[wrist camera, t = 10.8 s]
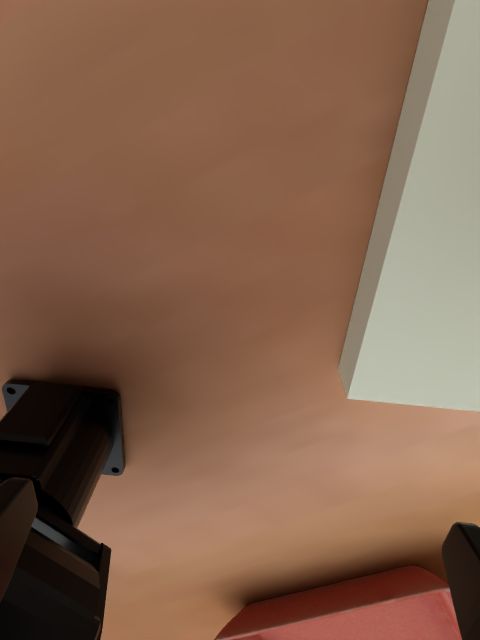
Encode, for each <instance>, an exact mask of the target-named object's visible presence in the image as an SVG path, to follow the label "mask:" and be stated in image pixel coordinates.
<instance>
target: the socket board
mask: <svg viewBox="0 0 480 640" xmlns="http://www.w3.org/2000/svg"><path fill="white" fill-rule="evenodd" d="M338 370H339V373H340V376H341V380H342V383H343V386H344V390H345V393H346V396H347V399H357V400H367V401H377V402H387V403H397V404H407V405H417V406H427V407H437V408H447V409H457V410H467V411H477V412H480V0H429V1H428V5H427V9H426V13H425V17H424V21H423V25H422V29H421V33H420V38H419V42H418V46H417V50H416V54H415V58H414V62H413V66H412V70H411V74H410V78H409V82H408V86H407V90H406V94H405V99H404V103H403V107H402V111H401V115H400V119H399V123H398V127H397V131H396V135H395V139H394V143H393V147H392V151H391V155H390V160H389V164H388V168H387V172H386V176H385V180H384V184H383V188H382V192H381V196H380V200H379V204H378V208H377V212H376V216H375V221H374V225H373V229H372V233H371V237H370V241H369V245H368V249H367V253H366V257H365V261H364V265H363V269H362V273H361V277H360V282H359V286H358V290H357V294H356V298H355V302H354V306H353V310H352V314H351V318H350V322H349V326H348V330H347V334H346V338H345V343H344V347H343V351H342V355H341V359H340V363H339V367H338Z"/></svg>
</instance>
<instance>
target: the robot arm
mask: <svg viewBox="0 0 480 640" xmlns="http://www.w3.org/2000/svg"><path fill="white" fill-rule="evenodd" d="M12 388H13V389H12ZM14 389H15V390H14ZM2 391H3V395H4V399H5V403H6V407H7V411H8V412H7V413H6V414H5V416H4V417H3V418H2V419H1V420H0V640H100V638H101V633H102V627H103V618H104V609H105V600H106V591H107V583H108V574H109V565H110V556H111V548H109V547H108V546H106V545H105V544H103V543H101V544H100V543H98V542H97V541H95V540H94V539H92V538H91V537H89V536H88V535H86V534H85V533H83V532H82V531H80V530H79V529H77V527H78V525H79V523H80V521H81V518H82V516H83V514H84V512H85V509H86V507H87V505H88V503H89V500H90V498H91V496H92V494H93V491H94V489H95V487H96V485H97V482H98V480H99V478H100V476H101V474H104V475H114V476H119V475H121V474H122V473H123V471H124V469H125V455H124V441H123V427H122V412H121V398H120V394H119V393H118V392H117V391H115V390H112V389H105V388H95V387H85V386H75V385H65V384H55V383H45V382H35V381H25V380H15V379H12V380H8V381H7V382H6V383H5V384H4V385H3V387H2ZM108 397H110V398H112V399H113V400H111V399H109V398H108ZM442 559H443V563H444V567H445V572H446V576H447V580H448V584H449V589H450V593H451V597H452V601H453V605H454V610H455V614H456V618H457V622H458V626H459V630H460V634H461V638H462V640H480V527H478V526H477V525H475V524H472V523H462V522H456V523H454V524H453V525H452V527H451V529H450V531H449V533H448V535H447V537H446V539H445V540H444V542H443V545H442Z"/></svg>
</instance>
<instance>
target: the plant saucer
mask: <svg viewBox="0 0 480 640" xmlns="http://www.w3.org/2000/svg"><path fill="white" fill-rule="evenodd" d="M214 640H462V638H461V634H460V630H459V626H458V622H457V618H456V614H455V610H454V605H453V601H452V597H451V593H450V589H449V584H448V583H446V582H445V581H444V580H442V579H441V578H440V577H438V576H436V575H435V574H433V573H431V572H429V571H427V570H425V569H424V568H421V567H419V566H416V565H410V566H404V567H400V568H396V569H392V570H388V571H384V572H380V573H376V574H372V575H368V576H364V577H360V578H356V579H352V580H347V581H343V582H339V583H335V584H331V585H327V586H323V587H319V588H315V589H311V590H307V591H302V592H298V593H294V594H290V595H286V596H282V597H278V598H273V599H269V600H265V601H261V602H257V603H253V604H249V605H247V606H246V607H245V608H243V609H242V610H241V611H240V612H239V613H238V614H237V615H236V616H235V617H234V618H233V619H232V620H231V621H230V622H228V623H227V625H226V626H225V627H224V628H223V629H222V630H221V632H220V633H219V634H218V635H217V637H216V638H215V639H214Z"/></svg>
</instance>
